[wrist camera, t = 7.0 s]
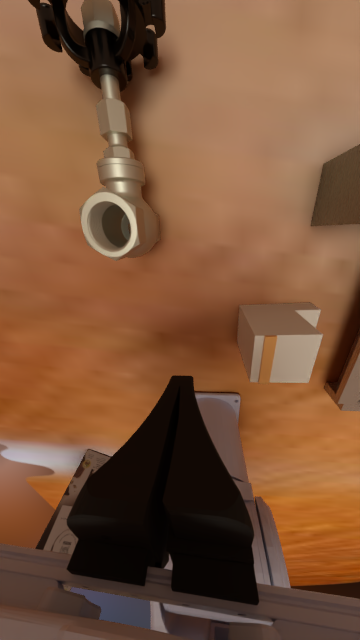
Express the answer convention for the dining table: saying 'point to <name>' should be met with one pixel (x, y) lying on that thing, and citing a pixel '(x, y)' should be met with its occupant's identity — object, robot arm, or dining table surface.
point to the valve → (111, 112)
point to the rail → (337, 209)
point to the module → (279, 341)
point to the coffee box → (69, 508)
